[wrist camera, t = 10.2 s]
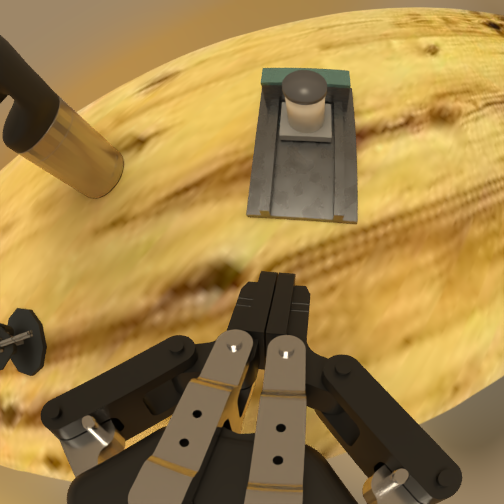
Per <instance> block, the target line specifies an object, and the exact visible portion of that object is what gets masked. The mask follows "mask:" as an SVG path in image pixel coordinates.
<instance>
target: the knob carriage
mask: <svg viewBox="0 0 504 504" xmlns="http://www.w3.org/2000/svg"><path fill="white" fill-rule="evenodd" d="M282 90H283V94H284V96H285V100H286V102H282V109H281V121H280V133H279V136H280V140H295V141H316V142H331V139H332V129H331V104H325V96H326V94H327V82H326V80H325V79H324V78H323V77H322V76H321V75H320V74H318V73H316V72H314V71H310V70H298V71H294V72H292V73H290V74H288V75H287V76H286V77H285V78H284V79H283V82H282Z"/></svg>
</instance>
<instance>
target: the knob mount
mask: <svg viewBox="0 0 504 504" xmlns="http://www.w3.org/2000/svg"><path fill="white" fill-rule="evenodd" d="M298 70H310V71H314V72H316V73H318V74H320V75H321V76H322V77H323V78H324V79H325V80H326V82H327V94H326V96H325V104H331V129H332V139H331V142H316V141H295V140H280V136H279V133H280V121H281V109H282V102H286V100H285V96H284V94H283V90H282V82H283V79H284V78H285V77H286V76H287V75H288V74H290V73H292V72H294V71H298ZM261 85H262V93H261V101H260V108H259V116H258V124H257V132H256V140H255V148H254V156H253V164H252V172H251V180H250V188H249V197H248V205H247V213H246V215H247V216H248V217H259V218H277V219H293V220H309V221H323V222H337V223H350V224H356V223H357V156H356V136H355V120H354V107H353V96H352V88H350V86H351V85H350V76H349V71H345V70H331V69H312V68H263V71H262V78H261Z"/></svg>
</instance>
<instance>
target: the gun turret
mask: <svg viewBox="0 0 504 504" xmlns="http://www.w3.org/2000/svg"><path fill="white" fill-rule="evenodd" d="M46 348H47V346H46V341H45V336H44V331H43V325H42V324H41V322H40V321H39V319H38V318H37V316H36V315H35V313H34V312H33V310H27V309H20V308H17V309H16V310H15V312H14V313H13V314H12V315H11V317H10V318H9V320H8V325H4V324H1V323H0V370H2V369H4V367H5V366H6V364H7V362H8V361H9V359H10V358H11V360H12V362H13V363H14V365H15V367H16V368H17V370H18V371H19V372H21V373H24V374H27V375H29V376H33V375H35V374H36V373H37V372H38V371H39V370H40V369H41V368H42V367H43V366H44V359H45V354H46Z"/></svg>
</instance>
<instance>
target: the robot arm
mask: <svg viewBox="0 0 504 504" xmlns="http://www.w3.org/2000/svg"><path fill="white" fill-rule="evenodd" d="M7 95H10V96H11V97H12V98H13V99H14V100H15V101H14V104H13V106H12V108H11V110H10V112H9V114H8V116H7V119H6V121H5V124H4V129H3V141H4V143H5V144H6V146H7V147H9V148H10V149H12V150H13V151H15V152H16V153H18V154H20V155H21V156H23V157H24V158H26V159H27V160H29V161H31V162H32V163H34V164H35V165H37V166H39V167H40V168H42V169H43V170H45V171H47V172H48V173H50V174H51V175H53V176H55V177H56V178H58V179H60V180H61V181H63V182H64V183H66V184H68V185H69V186H71V187H73V188H74V189H76V190H77V191H79V192H81V193H82V194H84V195H86V196H87V197H90V198H98V197H101V196H103V195H105V194H107V193H108V192H109V191H110V190H111V189H112V188H113V187H114V186H115V185H116V183H117V182H118V180H119V178H120V176H121V174H122V170H123V158H122V156H121V154H120V153H119V152H118V151H117V150H116V149H115V148H114V147H113V146H112V145H111V144H110V143H109V142H108V141H107V140H105V139H104V138H103V137H102V136H101V135H100V134H99V133H98V132H97V131H96V130H95V129H94V128H92V127H91V126H90V125H89V124H88V123H87V122H86V121H85V120H84V119H83V118H82V117H81V116H80V115H78V114H77V113H76V112H75V111H74V110H73V109H72V108H71V107H70V106H68V105H67V103H66V102H64V101H63V100H62V99H61V98H60V97H59V96H58V95H57V94H56V93H55V92H54V91H53V90H52V89H51V88H50V87H49V86H48V85H47V84H46V83H45V81H43V79H42V78H41V77H40V76H39V75H38V74H37V73H36V72H35V71H34V70H33V69H32V68H31V67H30V66H29V65H28V64H27V63H26V62H25V61H24V59H23V58H22V57H21V56H20V55H19V54H18V53H17V51H16V50H15V49H14V48H13V47H12V46H11V45H10V44H9V43H8V41H6V40H5V39H4V38H3V37H2V36H1V35H0V103H1V102H2V101H3V100H4V99H5V98H6V97H7ZM309 305H310V293H309V291H308V289H307V287H306V286H295V274H290V273H279V274H278V273H277V272H265V271H261V273H260V277H259V280H258V282H248V283H247V284H246V285H245V286H244V287H243V288H242V289H241V291H240V294H239V297H238V300H237V303H236V306H235V308H234V311H233V314H232V317H231V320H230V323H229V326H228V328H227V331H226V332H224V333H222V334H221V335H220V336H219V337H218V338H217V340H216V341H213V342H210V343H202V344H194V342H193V341H192V340H191V339H190V338H189V337H186V336H182V335H176V336H172V337H170V338H168V339H166V340H164V341H162V342H160V343H159V344H157V345H155V346H153V347H151V348H149V349H148V350H146V351H144V352H142V353H140V354H138V355H136V356H135V357H133V358H131V359H129V360H127V361H125V362H123V363H122V364H120V365H118V366H116V367H114V368H112V369H110V370H108V371H106V372H105V373H103V374H101V375H99V376H97V377H95V378H93V379H91V380H89V381H87V382H85V383H83V384H81V385H79V386H78V387H76V388H74V389H72V390H70V391H68V392H66V393H64V394H62V395H60V396H58V397H56V398H54V399H52V400H50V401H48V402H47V403H46V404H45V405H44V407H43V409H42V411H41V420H42V423H43V424H44V426H45V427H46V428H48V429H49V430H50V431H51V432H52V433H53V434H54V435H55V436H56V437H57V438H58V439H59V440H60V442H61V445H62V447H63V450H64V452H65V455H66V457H67V459H68V462H69V464H70V466H71V468H72V470H73V473H74V475H75V477H76V478H75V479H74V480H73V481H72V483H71V485H70V487H69V489H68V493H67V504H358V503H357V501H356V500H355V499H354V497H353V496H352V495H351V493H350V492H349V491H348V489H347V488H346V487H345V485H344V484H343V483H342V481H341V480H340V479H339V477H338V476H337V474H336V473H335V471H334V470H333V469H332V467H331V466H330V464H329V463H328V462H327V460H326V459H325V458H324V457H323V456H322V455H321V454H320V453H319V452H318V451H316V450H315V449H313V448H312V447H310V446H308V445H306V444H305V431H306V406H308V407H311V408H313V409H315V412H316V414H317V415H318V416H319V418H320V419H321V420H322V422H323V423H324V424H325V425H326V427H327V428H328V429H329V430H330V432H331V433H332V434H333V435H334V437H335V438H336V439H337V440H338V442H339V443H340V444H341V445H342V447H343V448H344V449H345V450H346V452H347V453H348V454H349V455H350V456H351V458H352V459H353V460H354V461H355V463H356V464H357V465H358V466H359V467H360V469H361V470H362V471H363V472H364V474H365V475H366V476H367V477H368V479H367V480H366V482H365V483H364V485H363V489H362V493H363V497H364V499H365V501H366V503H367V504H436V503H438V502H441V501H443V500H445V499H447V498H449V497H451V496H452V495H454V494H455V493H456V491H458V489H459V487H460V485H461V482H462V473H461V470H460V468H459V466H458V465H457V464H456V463H455V462H454V461H453V460H452V459H451V458H450V457H449V456H448V455H447V454H446V453H445V452H444V451H443V450H442V449H441V447H440V446H439V445H438V444H437V443H436V442H435V441H434V440H433V439H432V438H431V437H430V436H429V435H428V434H427V433H426V432H425V431H424V430H423V429H422V428H421V427H420V426H419V425H418V423H417V422H416V421H415V420H414V419H413V418H412V417H411V416H410V415H409V414H408V413H407V412H406V411H405V410H404V409H403V408H402V407H401V406H400V405H399V404H398V403H397V402H396V401H395V399H394V398H393V397H392V396H391V395H390V394H389V393H388V392H387V391H386V390H385V389H384V388H383V387H382V386H381V385H380V384H379V383H378V382H377V381H376V380H375V379H374V378H373V377H372V375H371V374H370V373H369V372H368V371H367V370H366V369H365V368H364V367H363V366H362V365H361V364H360V363H359V362H358V361H357V360H356V359H355V358H353V357H351V356H348V355H335V356H333V357H331V358H329V359H328V358H325V357H322V356H320V355H317V354H316V353H314V352H313V351H312V350H311V349H310V348H309V346H308V344H307V328H308V317H309ZM258 369H264V370H265V374H264V382H263V390H262V392H261V396H260V402H259V410H258V418H257V425H256V433H251V434H241V430H242V423H243V419H244V416H245V414H246V411H247V408H248V405H249V402H250V399H251V396H252V393H253V390H254V387H255V380H256V377H257V373H258ZM172 414H173V415H172ZM170 415H172V417H171V419H170V421H169V423H168V425H167V426H166V427H163V428H161V429H159V430H157V431H155V432H153V433H152V434H150V435H149V436H147V437H145V438H144V439H142V440H140V441H139V442H137V443H135V444H134V445H132V446H130V447H128V448H127V449H125V450H124V448H125V441H126V440H128V439H130V438H132V437H134V436H136V435H137V434H139V433H141V432H143V431H145V430H146V429H148V428H150V427H152V426H153V425H155V424H157V423H159V422H160V421H162V420H164V419H165V418H167V417H169V416H170Z"/></svg>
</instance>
